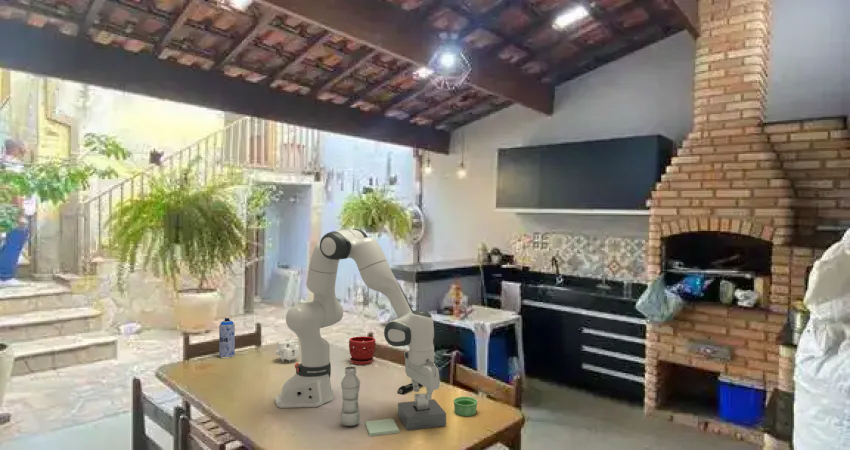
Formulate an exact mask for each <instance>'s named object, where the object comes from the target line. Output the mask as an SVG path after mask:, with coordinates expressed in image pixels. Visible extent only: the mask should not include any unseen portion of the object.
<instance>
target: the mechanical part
mask: <svg viewBox="0 0 850 450" xmlns="http://www.w3.org/2000/svg"><path fill="white" fill-rule="evenodd" d="M275 355H277V356H279V359H281V361H282V363H284V362H285V360H287V361H288V362H289V363H291V361H294V360H296V359H298V358H299V356H300V345H299V339H294V337H293V336H290V337H287V338H286V337H285V339H284V340H282V341H279V342H277V348H276V350H275Z"/></svg>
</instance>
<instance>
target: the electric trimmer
mask: <svg viewBox="0 0 850 450" xmlns="http://www.w3.org/2000/svg"><path fill="white" fill-rule="evenodd" d="M418 386H419V389H420V388H421V387H424V386H423V385H421V384H419V383H418ZM411 391H413V384H412V382H411V383H409V384H406V385H402V386H401V387H399V388H398V389H397V391H396V392H397V394H399V395H406V393H409V392H411Z"/></svg>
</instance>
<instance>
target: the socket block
mask: <svg viewBox="0 0 850 450" xmlns="http://www.w3.org/2000/svg"><path fill="white" fill-rule="evenodd" d="M397 416H398V418H399V419H400V421H401V423H402V424H403V426H404V428H405V430H406V432H408V431H415V430H425V429H432V428H441V427H446V426H447V413H446V411H445V410H444V409H443V408H442V407H441V405H440V404H439V403H438V402H437V401H436V400H435V398H434V399H433V398H431V400H428V410H424V411H416V410H415V400H413V401H403V402H402V401H401V402H398V403H397Z"/></svg>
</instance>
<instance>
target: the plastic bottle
mask: <svg viewBox="0 0 850 450" xmlns="http://www.w3.org/2000/svg"><path fill="white" fill-rule="evenodd" d="M344 369H345V370H344V374H345V375H344V377H343V378H342V380H341V382H340V387H341V393H342V397H341V398H342V406H341V413H340V422H341V424H342V425H343V426H345V427H353V426H357V425H358V424H359V422H360V419H361V416H360V414H361V413H360V410H359V409H360V408H359V396H360V395H359V394H360V387H361V381H360V379H359V377H358V376H357V375H356V374H357V368H356V366H346V367H345V368H344Z"/></svg>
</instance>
